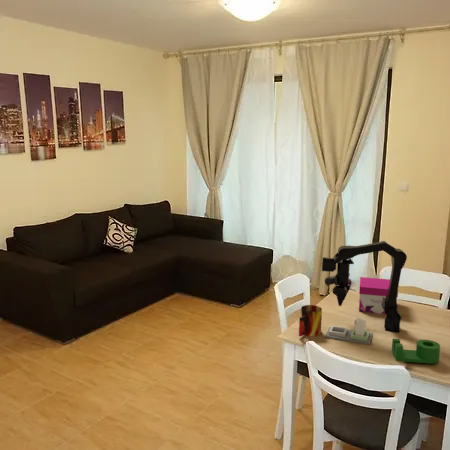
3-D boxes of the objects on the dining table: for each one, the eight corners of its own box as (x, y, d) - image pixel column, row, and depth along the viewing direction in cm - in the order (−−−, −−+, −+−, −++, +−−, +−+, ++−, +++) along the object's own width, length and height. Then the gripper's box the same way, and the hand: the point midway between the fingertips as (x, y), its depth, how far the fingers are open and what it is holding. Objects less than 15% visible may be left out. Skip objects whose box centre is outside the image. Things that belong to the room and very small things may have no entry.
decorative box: (358, 313, 242) (359, 286, 239) (358, 302, 260) (360, 277, 257) (396, 317, 236) (398, 290, 234) (394, 305, 254) (396, 279, 251)
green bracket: (435, 354, 195) (436, 340, 194) (441, 364, 186) (443, 349, 185) (391, 351, 198) (392, 337, 197) (395, 360, 189) (396, 346, 188)
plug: (365, 335, 212) (365, 319, 210) (363, 338, 208) (364, 322, 207) (354, 333, 214) (355, 317, 212) (353, 337, 210) (354, 320, 209)
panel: (372, 335, 214) (372, 330, 214) (369, 345, 203) (369, 340, 203) (330, 328, 222) (330, 323, 222) (324, 337, 212) (325, 332, 211)
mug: (298, 338, 210) (299, 314, 208) (301, 327, 224) (302, 304, 222) (319, 341, 208) (320, 316, 206) (321, 329, 221) (322, 305, 219)
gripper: (330, 265, 232) (328, 295, 234) (322, 275, 215) (321, 306, 217) (352, 268, 227) (350, 298, 230) (346, 277, 210) (344, 310, 213)
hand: (341, 302), depth 223 cm, fingers open, 9 cm apart
